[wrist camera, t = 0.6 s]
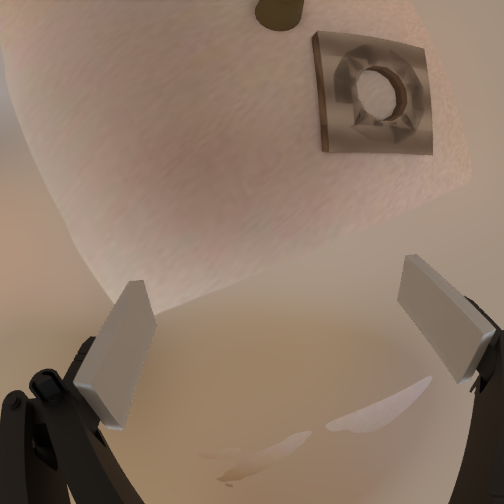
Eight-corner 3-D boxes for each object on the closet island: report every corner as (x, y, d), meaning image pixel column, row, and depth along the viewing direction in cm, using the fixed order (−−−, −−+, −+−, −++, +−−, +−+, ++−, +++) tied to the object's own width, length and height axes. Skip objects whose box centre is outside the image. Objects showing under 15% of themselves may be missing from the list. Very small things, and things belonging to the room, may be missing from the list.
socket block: (311, 37, 28) (317, 30, 26) (413, 52, 28) (424, 48, 26) (322, 151, 35) (329, 152, 32) (421, 153, 35) (432, 155, 32)
